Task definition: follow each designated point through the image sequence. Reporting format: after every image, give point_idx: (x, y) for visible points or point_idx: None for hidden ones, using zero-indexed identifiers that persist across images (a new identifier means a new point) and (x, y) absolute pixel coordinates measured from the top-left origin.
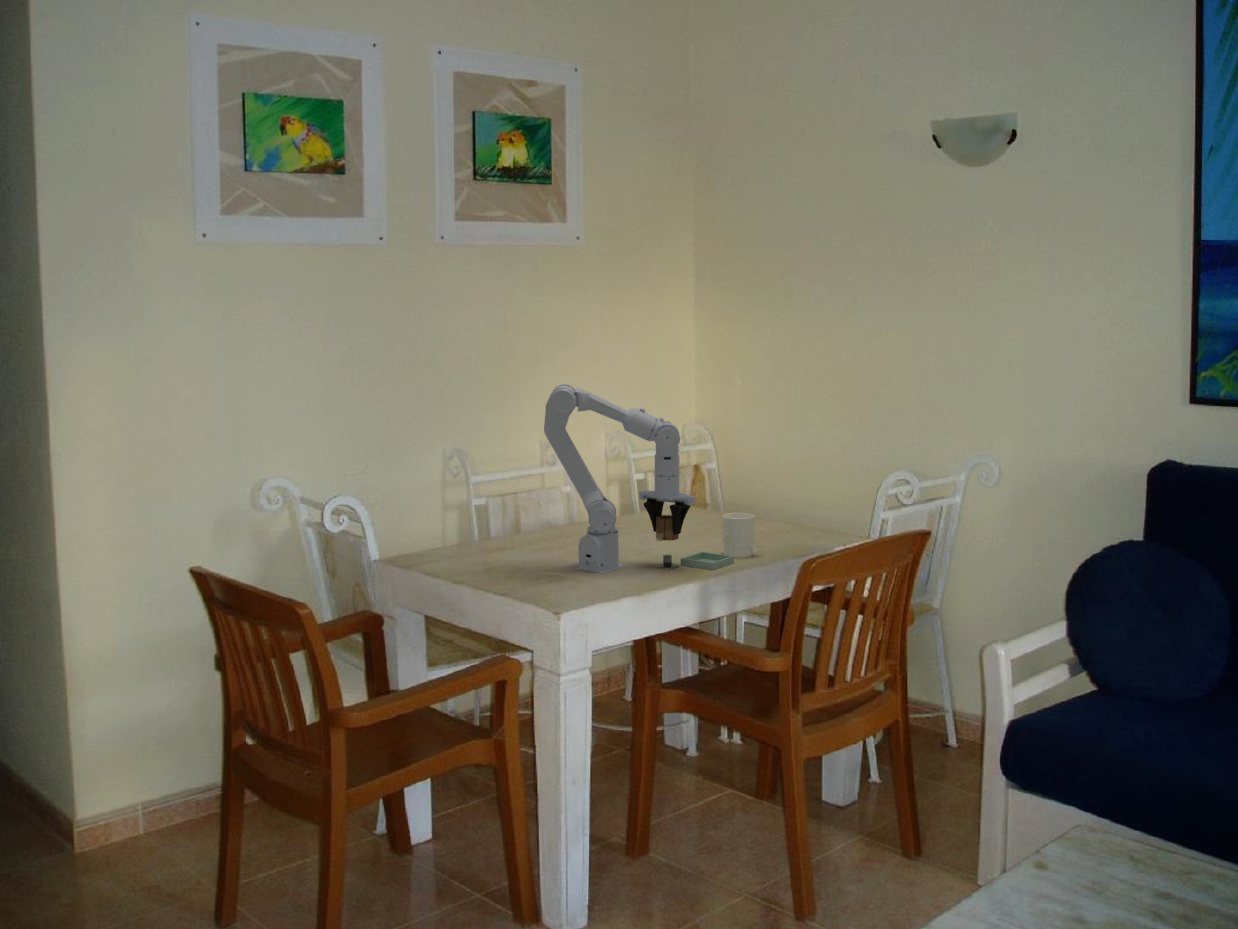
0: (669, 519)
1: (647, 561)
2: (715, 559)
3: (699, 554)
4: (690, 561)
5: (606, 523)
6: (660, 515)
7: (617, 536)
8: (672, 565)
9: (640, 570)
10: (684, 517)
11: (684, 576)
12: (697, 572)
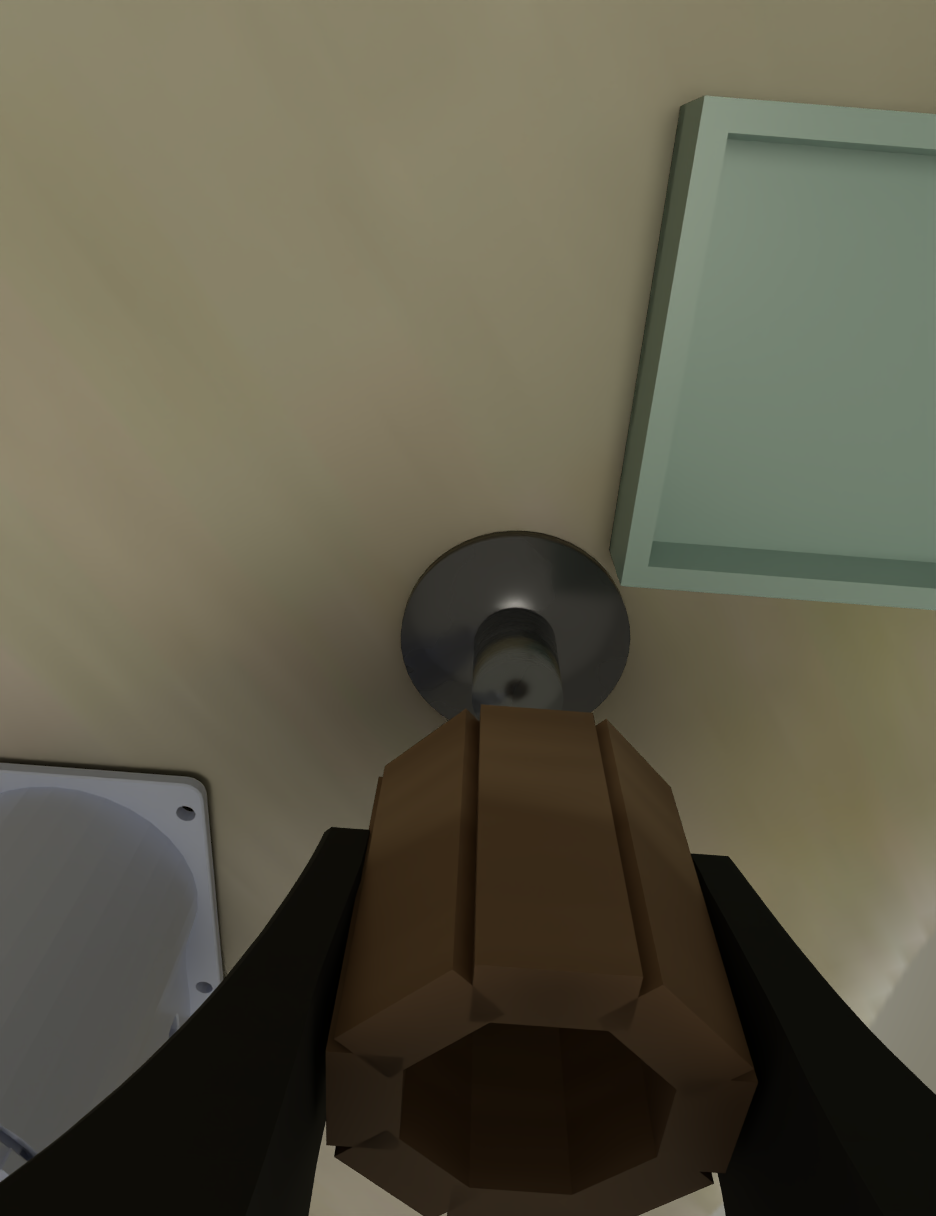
0: (661, 1199)
1: (191, 501)
2: (913, 153)
3: (708, 214)
4: (746, 589)
5: None
6: (330, 1061)
7: (73, 1115)
8: (546, 605)
9: (364, 801)
10: (896, 1072)
11: (789, 809)
12: (847, 655)
